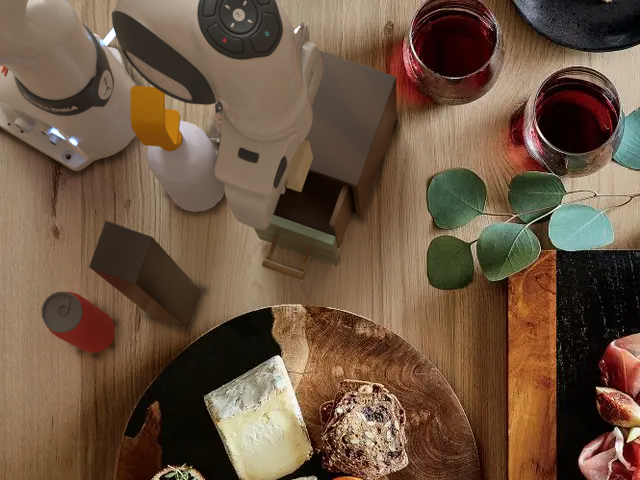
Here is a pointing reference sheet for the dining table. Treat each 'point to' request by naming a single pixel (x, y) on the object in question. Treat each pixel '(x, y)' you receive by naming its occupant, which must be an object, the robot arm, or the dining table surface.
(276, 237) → the drawer
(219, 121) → the vase
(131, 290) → the plinth
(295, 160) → the block
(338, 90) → the cabinet
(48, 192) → the dining table surface
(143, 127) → the soap bottle
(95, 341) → the beer can
